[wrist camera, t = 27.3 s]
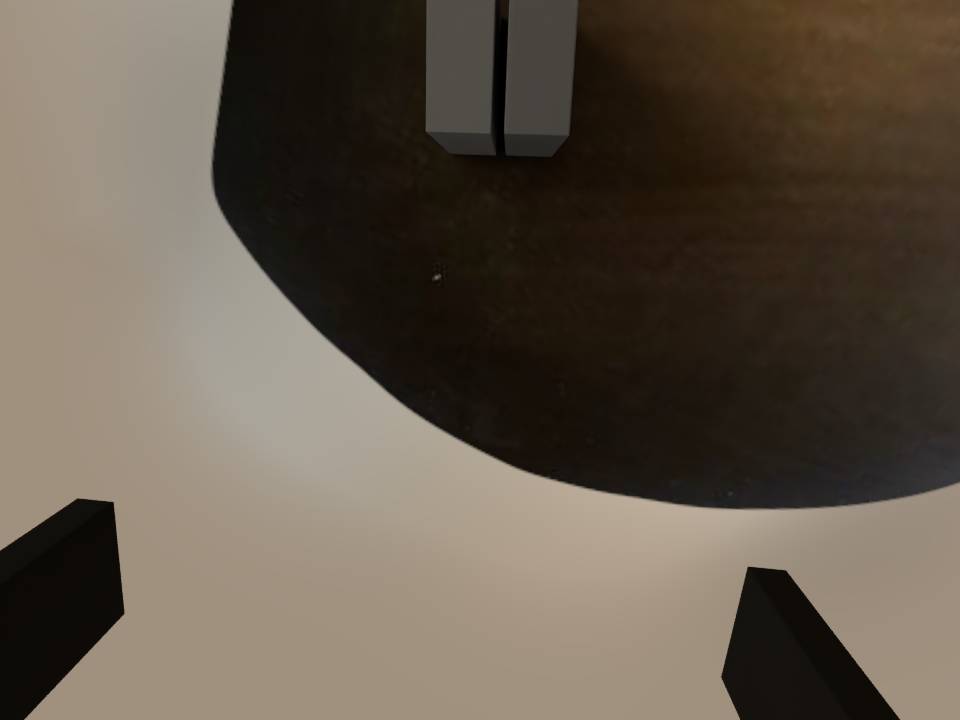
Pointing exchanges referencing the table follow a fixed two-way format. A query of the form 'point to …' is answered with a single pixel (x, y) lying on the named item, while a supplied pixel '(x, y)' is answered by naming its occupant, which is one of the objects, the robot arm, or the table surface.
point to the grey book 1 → (463, 74)
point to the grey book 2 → (539, 75)
